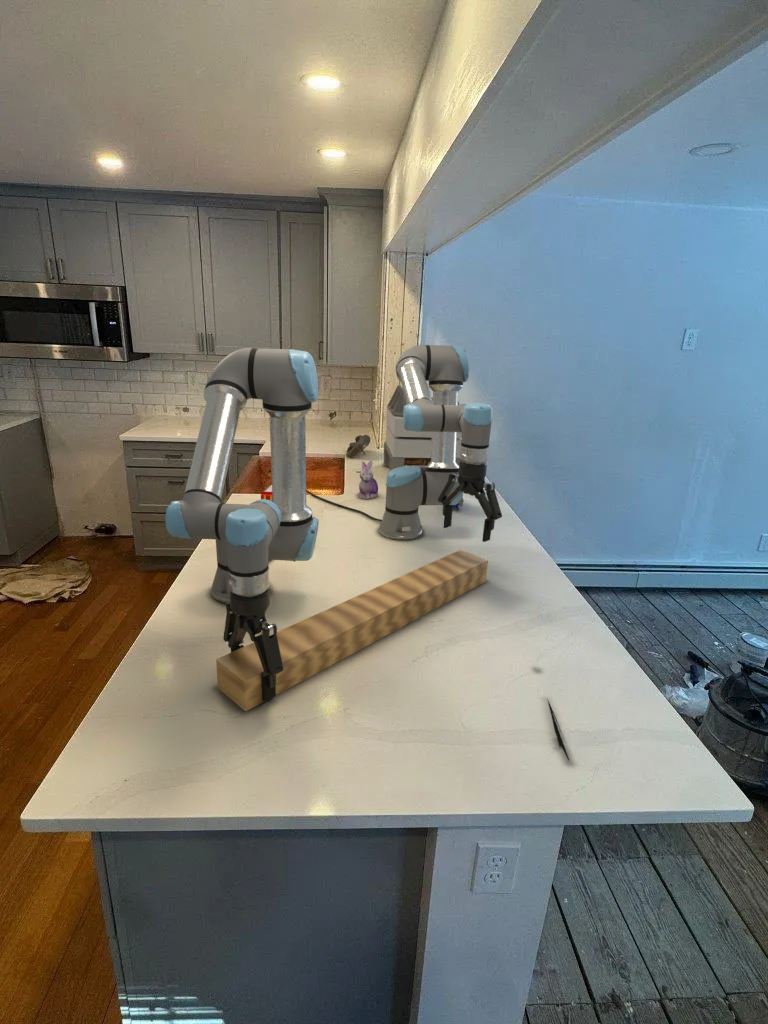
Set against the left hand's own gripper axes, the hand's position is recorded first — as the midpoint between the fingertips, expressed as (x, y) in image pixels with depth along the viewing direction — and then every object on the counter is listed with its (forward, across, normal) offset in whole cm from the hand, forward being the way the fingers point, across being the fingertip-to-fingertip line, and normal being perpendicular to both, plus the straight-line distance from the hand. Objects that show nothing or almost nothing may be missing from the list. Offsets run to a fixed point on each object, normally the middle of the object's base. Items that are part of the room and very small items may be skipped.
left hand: (253, 685), depth 117 cm
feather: (+1, +47, +38) cm, 60 cm away
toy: (0, -77, +65) cm, 101 cm away
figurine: (0, -74, +107) cm, 130 cm away
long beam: (+1, 0, +36) cm, 36 cm away
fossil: (0, -128, +154) cm, 201 cm away
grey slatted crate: (0, -83, +152) cm, 173 cm away
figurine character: (0, -43, +125) cm, 132 cm away
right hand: (-15, 0, +72) cm, 74 cm away
